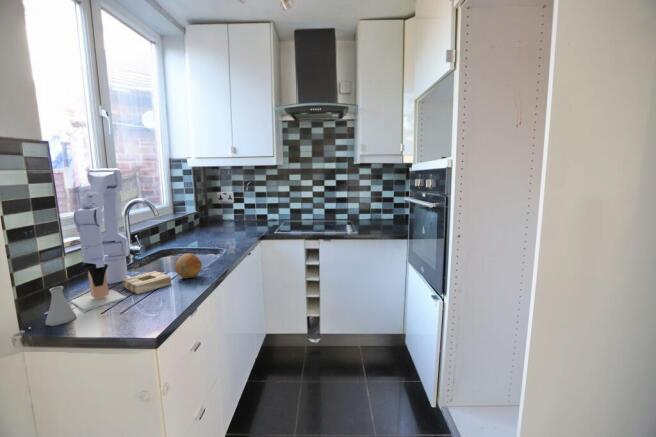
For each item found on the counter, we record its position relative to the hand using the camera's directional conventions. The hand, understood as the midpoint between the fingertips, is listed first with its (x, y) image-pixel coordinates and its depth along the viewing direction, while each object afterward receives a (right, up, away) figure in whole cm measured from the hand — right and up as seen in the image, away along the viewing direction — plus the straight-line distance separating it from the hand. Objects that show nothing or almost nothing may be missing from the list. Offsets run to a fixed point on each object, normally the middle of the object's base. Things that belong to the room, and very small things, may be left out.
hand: (97, 284), depth 106 cm
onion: (+21, -2, +22) cm, 31 cm away
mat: (0, -6, +1) cm, 6 cm away
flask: (-1, -8, -13) cm, 16 cm away
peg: (0, -4, +1) cm, 4 cm away
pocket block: (+9, -3, +14) cm, 17 cm away
